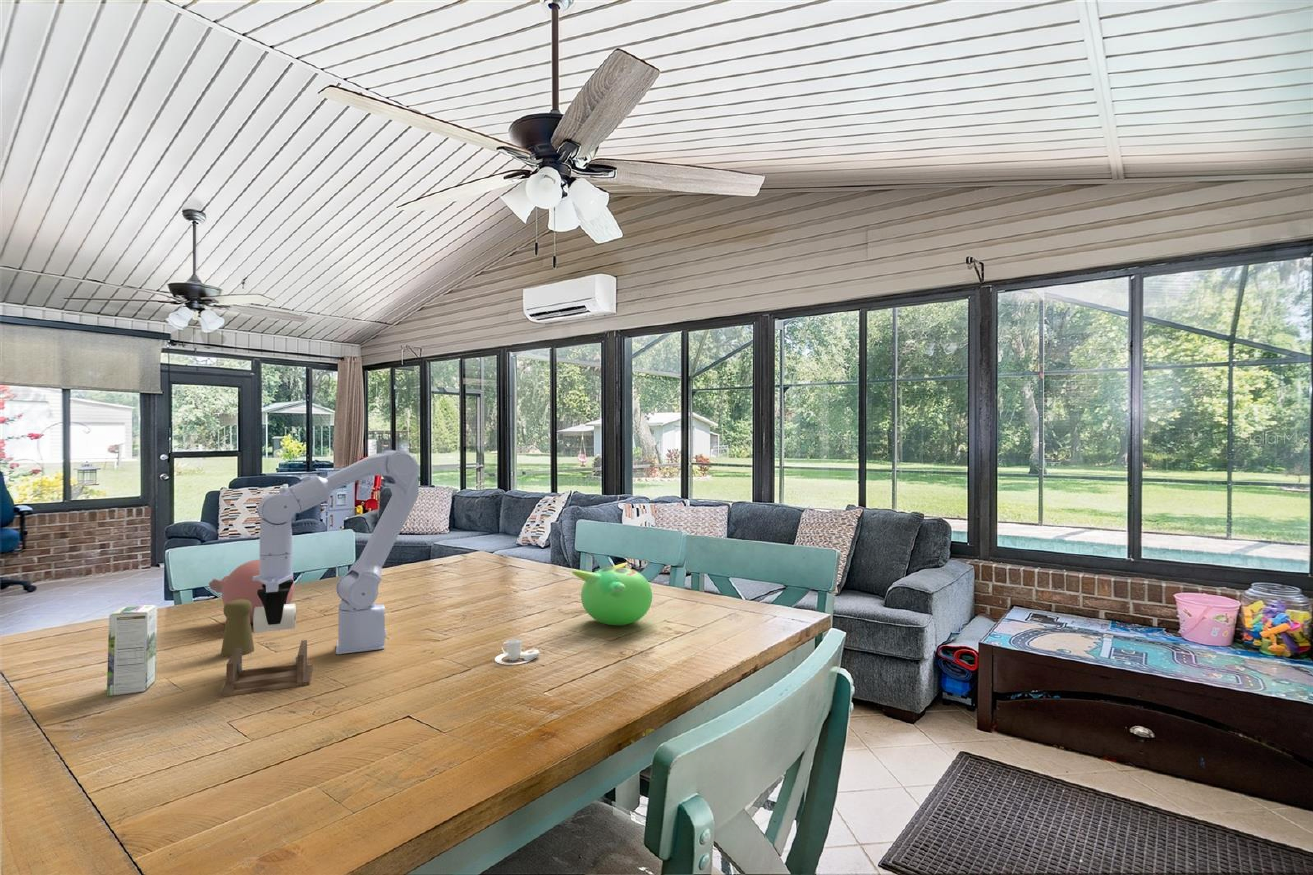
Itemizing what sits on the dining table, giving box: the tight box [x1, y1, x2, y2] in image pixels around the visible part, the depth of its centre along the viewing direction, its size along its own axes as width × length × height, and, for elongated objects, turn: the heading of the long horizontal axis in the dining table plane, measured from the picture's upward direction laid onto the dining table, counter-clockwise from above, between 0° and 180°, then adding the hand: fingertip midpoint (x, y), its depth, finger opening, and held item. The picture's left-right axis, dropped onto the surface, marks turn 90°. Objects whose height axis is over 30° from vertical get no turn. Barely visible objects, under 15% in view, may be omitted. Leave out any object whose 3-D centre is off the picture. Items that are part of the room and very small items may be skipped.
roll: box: [252, 603, 297, 634], centre depth 132 cm, size 7×5×5 cm
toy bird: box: [571, 562, 653, 626], centre depth 161 cm, size 18×17×15 cm
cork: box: [220, 599, 255, 658], centre depth 139 cm, size 6×6×11 cm
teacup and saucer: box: [494, 638, 540, 666], centre depth 135 cm, size 9×8×4 cm
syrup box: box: [106, 604, 158, 697], centre depth 118 cm, size 6×6×14 cm
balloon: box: [208, 558, 296, 624], centre depth 162 cm, size 15×20×15 cm
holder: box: [219, 639, 314, 698], centre depth 122 cm, size 14×10×6 cm
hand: (275, 620), depth 132 cm, fingers closed on roll, 5 cm apart
